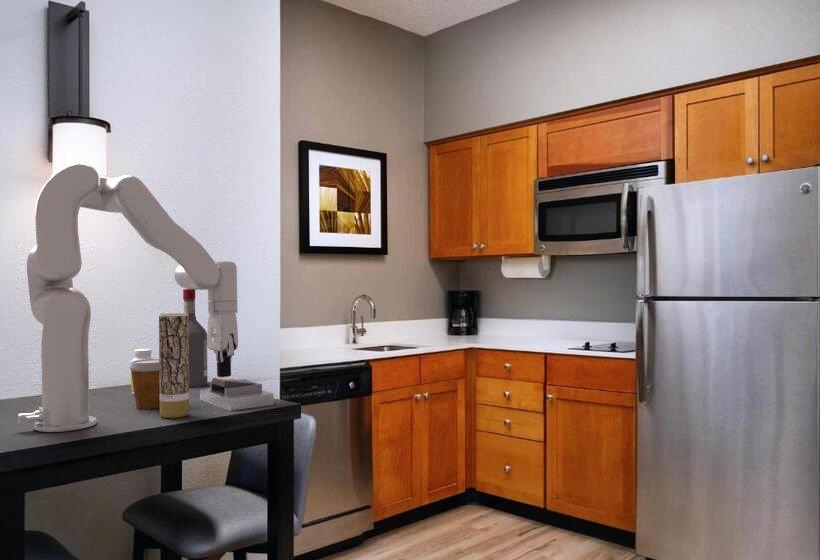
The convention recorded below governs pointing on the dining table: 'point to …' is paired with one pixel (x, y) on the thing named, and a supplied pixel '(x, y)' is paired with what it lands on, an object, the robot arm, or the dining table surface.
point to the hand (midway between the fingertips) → (224, 376)
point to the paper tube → (174, 364)
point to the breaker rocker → (231, 382)
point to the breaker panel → (236, 396)
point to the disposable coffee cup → (146, 383)
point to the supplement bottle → (140, 355)
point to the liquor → (195, 343)
